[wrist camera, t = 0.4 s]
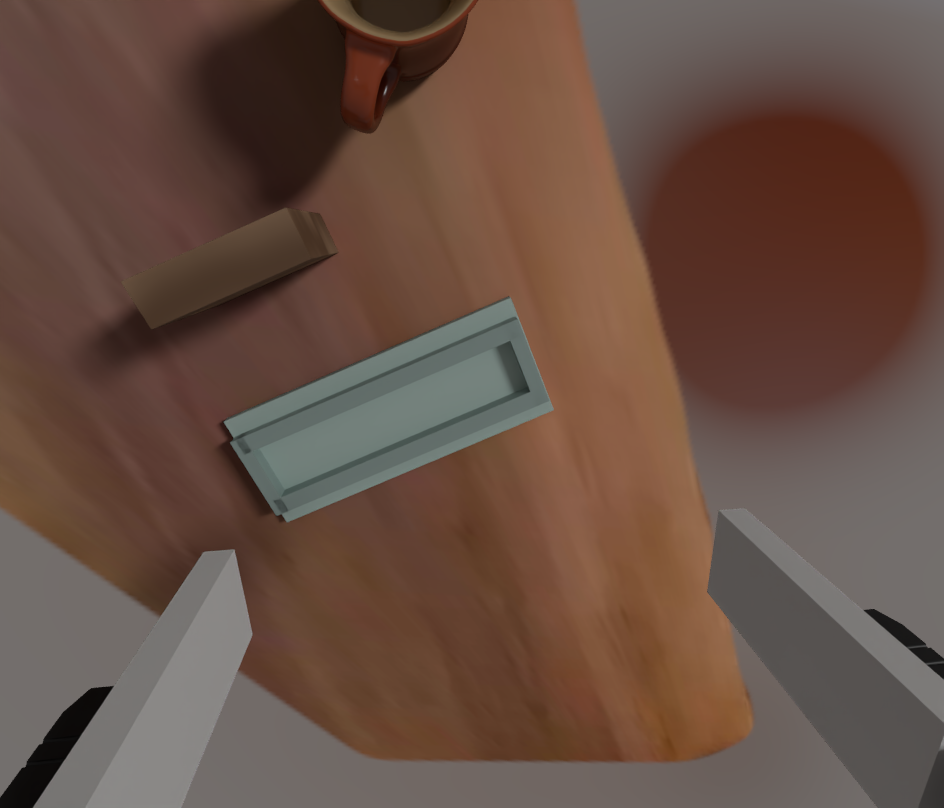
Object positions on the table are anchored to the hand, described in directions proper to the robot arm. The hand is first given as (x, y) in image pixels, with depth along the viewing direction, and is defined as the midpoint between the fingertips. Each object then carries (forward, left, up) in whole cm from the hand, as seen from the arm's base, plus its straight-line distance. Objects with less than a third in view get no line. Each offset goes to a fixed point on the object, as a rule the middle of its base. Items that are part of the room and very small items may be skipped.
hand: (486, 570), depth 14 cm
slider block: (-11, -8, -25) cm, 28 cm away
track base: (+2, -5, -25) cm, 25 cm away
